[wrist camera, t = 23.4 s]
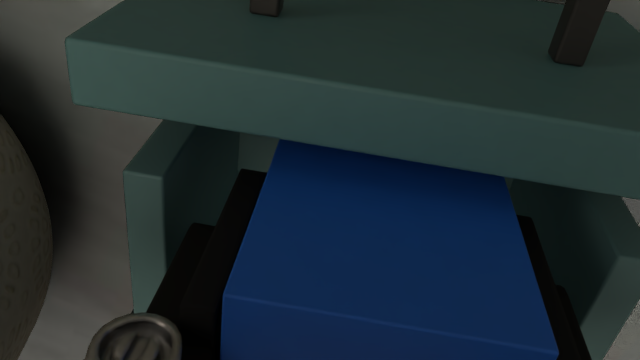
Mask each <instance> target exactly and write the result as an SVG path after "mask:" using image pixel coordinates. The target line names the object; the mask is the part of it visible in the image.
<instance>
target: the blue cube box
mask: <svg viewBox="0 0 640 360" xmlns="http://www.w3.org/2000/svg"><path fill="white" fill-rule="evenodd" d="M558 355H559V350H558V347H557V344H556V341H555V338H554V334H553V331H552V328H551V325H550V322H549V318H548V315H547V312H546V309H545V306H544V302H543V299H542V296H541V293H540V290H539V286H538V283H537V280H536V277H535V274H534V270H533V267H532V264H531V261H530V258H529V254H528V251H527V248H526V245H525V242H524V238H523V235H522V232H521V229H520V226H519V222H518V219H517V216H516V213H515V210H514V206H513V203H512V200H511V197H510V194H509V190H508V187H507V184H506V181H505V178H504V177H502V176H496V175H490V174H484V173H478V172H472V171H466V170H460V169H454V168H448V167H442V166H437V165H431V164H425V163H419V162H413V161H407V160H401V159H395V158H389V157H383V156H377V155H371V154H365V153H359V152H353V151H347V150H342V149H336V148H330V147H324V146H318V145H312V144H306V143H300V142H294V141H288V140H282V139H280V140H279V142H278V145H277V148H276V151H275V153H274V156H273V159H272V162H271V164H270V167H269V170H268V172H267V175H266V178H265V181H264V183H263V186H262V189H261V191H260V194H259V197H258V200H257V202H256V205H255V208H254V211H253V213H252V216H251V219H250V221H249V224H248V227H247V230H246V232H245V235H244V238H243V241H242V243H241V246H240V249H239V251H238V254H237V257H236V260H235V262H234V265H233V268H232V271H231V273H230V276H229V279H228V281H227V284H226V287H225V290H224V292H223V298H222V322H221V346H220V360H556V359H557V357H558Z"/></svg>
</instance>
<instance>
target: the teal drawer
mask: <svg viewBox="0 0 640 360" xmlns="http://www.w3.org/2000/svg"><path fill="white" fill-rule="evenodd" d="M609 1H610V0H566V3H565V5H562V4H556V3H549V2H543V1H537V0H124V1H122V2H121V3H119V4H118V5H116V6H114V7H113V8H111V9H110V10H108V11H107V12H105V13H103V14H102V15H100V16H99V17H97V18H96V19H94V20H93V21H91V22H89V23H88V24H86V25H85V26H83V27H82V28H80V29H79V30H77V31H75V32H74V33H72V34H71V35H69V36H68V37H66V39H65V49H66V57H67V64H68V72H69V80H70V88H71V95H72V102H73V103H74V104H76V105H80V106H86V107H92V108H98V109H104V110H110V111H116V112H122V113H128V114H134V115H140V116H146V117H152V118H157V119H163V121H162V122H161V124H160V125H159V126H158V127H157V129H156V130H155V131H154V132H153V134H152V135H151V136H150V137H149V139H148V140H147V141H146V142H145V144H144V145H143V146H142V148H141V149H140V150H139V151H138V153H137V154H136V155H135V156H134V158H133V159H132V160H131V161H130V163H129V164H128V165H127V166H126V168H125V169H124V170H123V182H124V195H125V207H126V219H127V232H128V244H129V256H130V269H131V281H132V293H133V306H134V313H141V312H145V313H146V311H147V309H148V307H149V305H150V303H151V301H152V299H153V297H154V296H155V294H156V292H157V290H158V288H159V286H160V284H161V282H162V280H163V278H164V276H165V274H166V272H167V270H168V268H169V266H170V264H171V262H172V260H173V258H174V256H175V254H176V252H177V251H178V249H179V247H180V245H181V243H182V241H183V239H184V237H185V235H186V233H187V231H188V229H189V227H190V226H191V224H193V223H200V224H206V225H212V226H216V223H217V221H218V219H219V217H220V214H221V212H222V210H223V208H224V206H225V203H226V201H227V199H228V197H229V194H230V192H231V190H232V188H233V185H234V183H235V181H236V179H237V177H238V174H239V172H240V170H241V169H242V168H243V169H248V170H254V171H260V172H266V173H267V172H268V170H269V167H270V164H271V162H272V159H273V156H274V153H275V151H276V148H277V145H278V142H279V140H280V139H282V140H288V141H294V142H300V143H306V144H312V145H318V146H324V147H330V148H336V149H342V150H347V151H353V152H359V153H365V154H371V155H377V156H383V157H389V158H395V159H401V160H407V161H413V162H419V163H425V164H431V165H437V166H442V167H448V168H454V169H460V170H466V171H472V172H478V173H484V174H490V175H496V176H502V177H504V178H505V181H506V184H507V187H508V190H509V194H510V197H511V200H512V203H513V206H514V210H515V213H516V215H521V216H527V217H531V218H532V220H533V223H534V225H535V228H536V231H537V234H538V237H539V240H540V243H541V245H542V248H543V251H544V254H545V257H546V260H547V263H548V266H549V268H550V271H551V274H552V277H553V280H554V283H555V284H556V285H561V286H562V287H564V288H565V290H566V292H567V294H568V296H569V299H570V302H571V304H572V307H573V310H574V313H575V315H576V318H577V321H578V323H579V326H580V329H581V332H582V334H583V337H584V340H585V342H586V345H587V348H588V351H589V353H590V356H591V359H592V360H603V358H604V356H605V355H606V353H607V351H608V350H609V348H610V347H611V345H612V343H613V342H614V340H615V338H616V337H617V335H618V333H619V332H620V330H621V329H622V327H623V325H624V324H625V322H626V320H627V319H628V317H629V316H630V314H631V312H632V311H633V309H634V307H635V306H636V304H637V302H638V301H639V299H640V228H639V226H638V224H637V223H636V221H635V219H634V218H633V216H632V214H631V213H630V211H629V209H628V208H627V206H626V204H625V203H624V201H623V200H622V198H621V197H626V198H632V199H638V200H640V32H639V31H638V30H636V29H635V28H634V27H633V26H632V25H631V24H629V23H628V22H627V21H626V20H625V19H624V18H622V17H621V16H620V15H619V14H617V13H612V12H606V9H607V6H608V4H609Z"/></svg>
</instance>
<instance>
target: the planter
mask: <svg viewBox="0 0 640 360" xmlns="http://www.w3.org/2000/svg"><path fill="white" fill-rule="evenodd" d="M52 258H53V240H52V229H51V221H50V215H49V210H48V206H47V203H46V199H45V196H44V193H43V190H42V187H41V184H40V181H39V179H38V176H37V174H36V172H35V169H34V167H33V165H32V163H31V161H30V159H29V157H28V155H27V153H26V152H25V150H24V148H23V146H22V145H21V143H20V141H19V140H18V138H17V136H16V135H15V133H14V132H13V130H12V129H11V127H10V126H9V125H8V123H7V122H6V120H5V119H4V118H3V116H2V115H1V114H0V360H18V358H19V356H20V354H21V352H22V350H23V348H24V346H25V344H26V342H27V340H28V338H29V336H30V334H31V332H32V330H33V328H34V326H35V324H36V322H37V319H38V317H39V314H40V311H41V309H42V306H43V304H44V301H45V297H46V294H47V290H48V285H49V281H50V276H51V268H52Z"/></svg>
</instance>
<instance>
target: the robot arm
mask: <svg viewBox="0 0 640 360" xmlns="http://www.w3.org/2000/svg"><path fill="white" fill-rule="evenodd" d="M266 175H267V173H266V172H260V171H254V170H248V169H243V168H242V169H241V170H240V172H239V174H238V177H237V179H236V181H235V183H234V185H233V188H232V190H231V192H230V194H229V197H228V199H227V201H226V203H225V206H224V208H223V210H222V212H221V214H220V217H219V219H218V221H217V223H216V226H212V225H206V224H200V223H193V224H191V226H190V227H189V229H188V231H187V233H186V235H185V237H184V239H183V241H182V243H181V245H180V247H179V249H178V251H177V252H176V254H175V256H174V258H173V260H172V262H171V264H170V266H169V268H168V270H167V272H166V274H165V276H164V278H163V280H162V282H161V284H160V286H159V288H158V290H157V292H156V294H155V296H154V297H153V299H152V301H151V303H150V305H149V307H148V309H147V311H146V313H145V312H141V313H132V314H127V315H124V316H121V317H118V318H115V319H113V320H112V321H110V322H109V323H107V324H105V325H104V326H103V327H102V328H101V329H100V330H99V331H98V332H97V333H96V334H95V335H94V336H93V338H92V340H91V343H90V345H89V347H88V350H87V354H86V357H85V359H84V360H220V346H221V322H222V298H223V292H224V290H225V287H226V284H227V281H228V279H229V276H230V273H231V271H232V268H233V265H234V262H235V260H236V257H237V254H238V251H239V249H240V246H241V243H242V241H243V238H244V235H245V232H246V230H247V227H248V224H249V221H250V219H251V216H252V213H253V211H254V208H255V205H256V202H257V200H258V197H259V194H260V191H261V189H262V186H263V183H264V181H265V178H266ZM516 216H517V219H518V222H519V226H520V229H521V232H522V235H523V238H524V242H525V245H526V248H527V251H528V254H529V258H530V261H531V264H532V267H533V270H534V274H535V277H536V280H537V283H538V286H539V290H540V293H541V296H542V299H543V302H544V306H545V309H546V312H547V315H548V318H549V322H550V325H551V328H552V331H553V334H554V338H555V341H556V344H557V347H558V350H559V355H558V357H557V359H556V360H592V359H591V356H590V353H589V351H588V348H587V345H586V342H585V340H584V337H583V334H582V332H581V329H580V326H579V323H578V321H577V318H576V315H575V313H574V310H573V307H572V304H571V302H570V299H569V296H568V294H567V292H566V290H565V288H564V287H562V286H561V285H556V284H555V283H554V280H553V277H552V274H551V271H550V268H549V266H548V263H547V260H546V257H545V254H544V251H543V248H542V245H541V243H540V240H539V237H538V234H537V231H536V228H535V225H534V223H533V220H532V218H531V217H527V216H521V215H516Z"/></svg>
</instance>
